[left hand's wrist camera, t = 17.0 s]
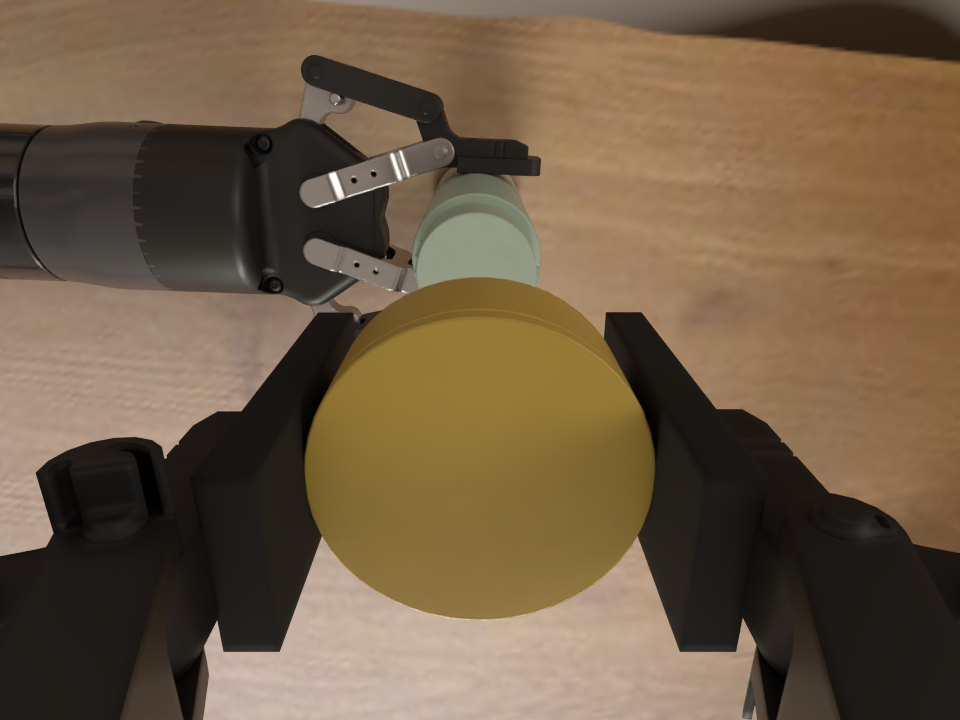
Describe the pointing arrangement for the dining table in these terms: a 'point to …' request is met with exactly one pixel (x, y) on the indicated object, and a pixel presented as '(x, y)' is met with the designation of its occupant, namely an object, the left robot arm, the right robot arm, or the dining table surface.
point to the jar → (476, 232)
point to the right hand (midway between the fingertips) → (532, 224)
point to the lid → (479, 453)
